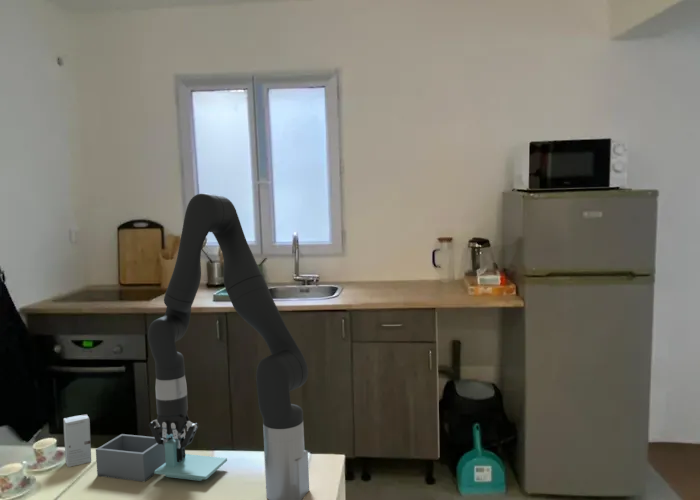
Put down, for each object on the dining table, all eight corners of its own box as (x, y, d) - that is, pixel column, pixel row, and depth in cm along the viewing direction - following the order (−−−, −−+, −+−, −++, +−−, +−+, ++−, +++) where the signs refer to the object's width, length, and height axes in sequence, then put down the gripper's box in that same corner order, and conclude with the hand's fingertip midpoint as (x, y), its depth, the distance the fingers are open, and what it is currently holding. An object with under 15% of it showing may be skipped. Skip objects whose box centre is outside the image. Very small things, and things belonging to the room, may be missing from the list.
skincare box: (67, 468, 152) (64, 423, 152) (65, 462, 156) (62, 418, 155) (92, 461, 156) (89, 417, 155) (89, 456, 160) (86, 413, 159)
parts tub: (168, 464, 153) (166, 438, 152) (144, 481, 143) (142, 454, 143) (123, 459, 157) (121, 434, 156) (97, 475, 147) (95, 449, 147)
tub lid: (227, 465, 149) (225, 435, 148) (206, 484, 139) (204, 452, 139) (178, 460, 153) (176, 431, 153) (154, 478, 143) (152, 447, 143)
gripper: (203, 390, 148) (207, 456, 149) (156, 387, 152) (160, 452, 153) (187, 400, 140) (191, 469, 142) (138, 397, 144) (142, 464, 146)
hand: (175, 460), depth 147 cm, fingers closed on tub lid, 2 cm apart
